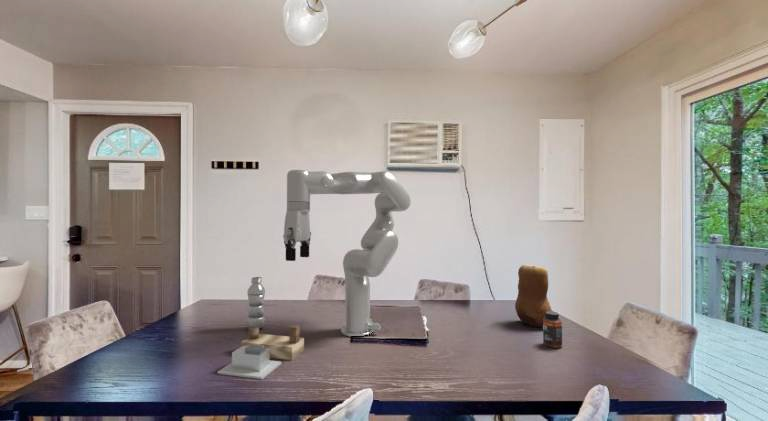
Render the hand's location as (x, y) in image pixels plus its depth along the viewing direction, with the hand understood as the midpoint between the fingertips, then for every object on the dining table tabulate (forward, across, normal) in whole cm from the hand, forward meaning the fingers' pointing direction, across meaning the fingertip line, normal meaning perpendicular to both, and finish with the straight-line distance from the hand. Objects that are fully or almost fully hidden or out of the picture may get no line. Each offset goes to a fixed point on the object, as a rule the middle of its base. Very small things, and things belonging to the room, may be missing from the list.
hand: (297, 258), depth 111 cm
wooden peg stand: (+30, +3, -7) cm, 31 cm away
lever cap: (+30, +15, -7) cm, 34 cm away
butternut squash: (+31, -47, +82) cm, 99 cm away
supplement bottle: (+31, -25, +84) cm, 93 cm away
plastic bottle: (+31, -16, -26) cm, 43 cm away
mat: (+30, +15, -7) cm, 35 cm away
